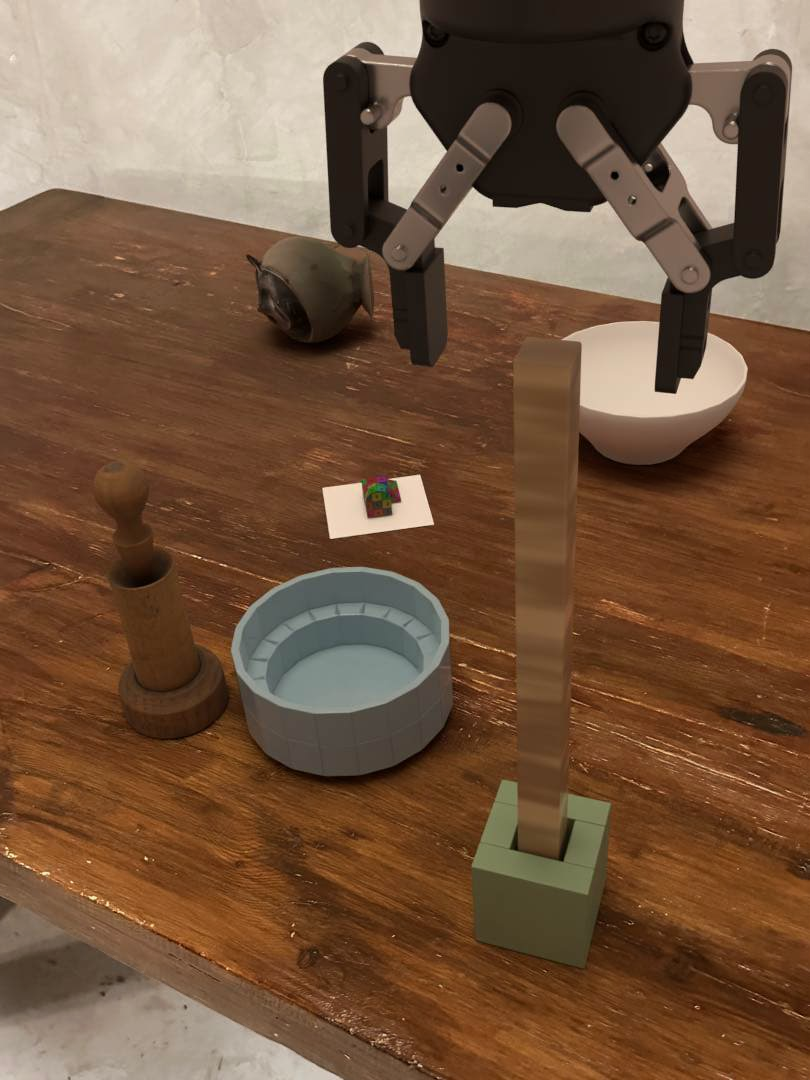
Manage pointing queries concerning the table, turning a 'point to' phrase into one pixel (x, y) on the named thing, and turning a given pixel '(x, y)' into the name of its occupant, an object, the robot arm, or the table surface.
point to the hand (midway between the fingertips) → (546, 369)
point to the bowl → (650, 393)
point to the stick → (545, 583)
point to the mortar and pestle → (155, 621)
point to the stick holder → (540, 882)
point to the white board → (376, 506)
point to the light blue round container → (344, 670)
